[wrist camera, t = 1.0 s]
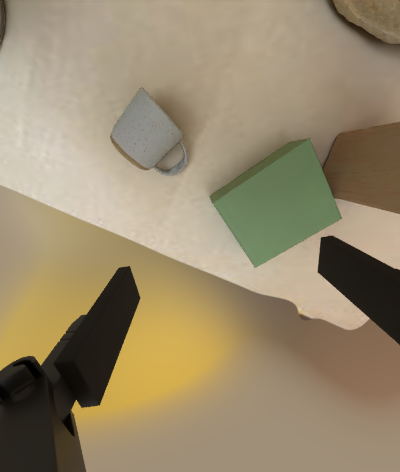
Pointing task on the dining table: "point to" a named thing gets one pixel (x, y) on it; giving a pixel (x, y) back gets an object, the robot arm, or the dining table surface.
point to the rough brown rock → (373, 17)
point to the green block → (278, 202)
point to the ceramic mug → (147, 134)
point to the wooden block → (366, 167)
